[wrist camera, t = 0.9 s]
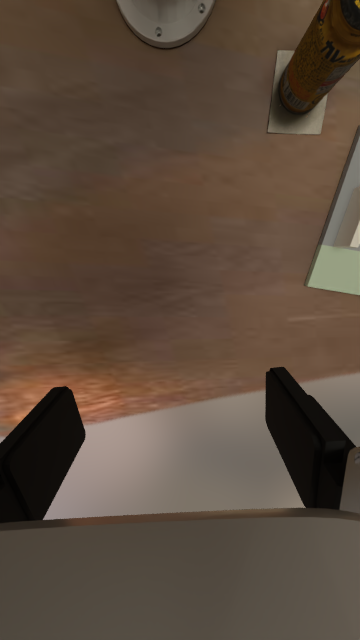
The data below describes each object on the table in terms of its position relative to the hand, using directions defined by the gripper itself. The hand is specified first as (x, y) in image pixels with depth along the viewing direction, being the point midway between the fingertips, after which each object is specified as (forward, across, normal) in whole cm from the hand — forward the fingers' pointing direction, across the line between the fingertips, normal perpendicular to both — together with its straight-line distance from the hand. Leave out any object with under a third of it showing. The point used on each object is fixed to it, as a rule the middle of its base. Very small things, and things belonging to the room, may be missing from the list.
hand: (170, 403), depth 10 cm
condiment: (+28, -19, -24) cm, 42 cm away
